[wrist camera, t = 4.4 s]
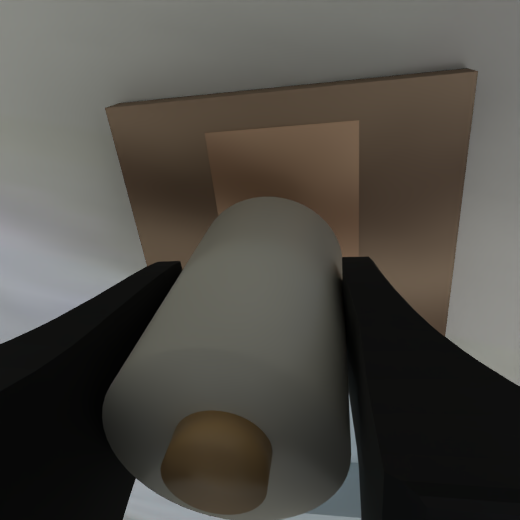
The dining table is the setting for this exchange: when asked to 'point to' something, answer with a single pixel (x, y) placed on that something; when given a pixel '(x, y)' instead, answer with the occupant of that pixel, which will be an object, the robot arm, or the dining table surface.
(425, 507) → the robot arm
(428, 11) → the dining table surface
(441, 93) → the brown rectangular board
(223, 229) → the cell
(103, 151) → the dining table surface
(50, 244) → the dining table surface
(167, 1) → the dining table surface
